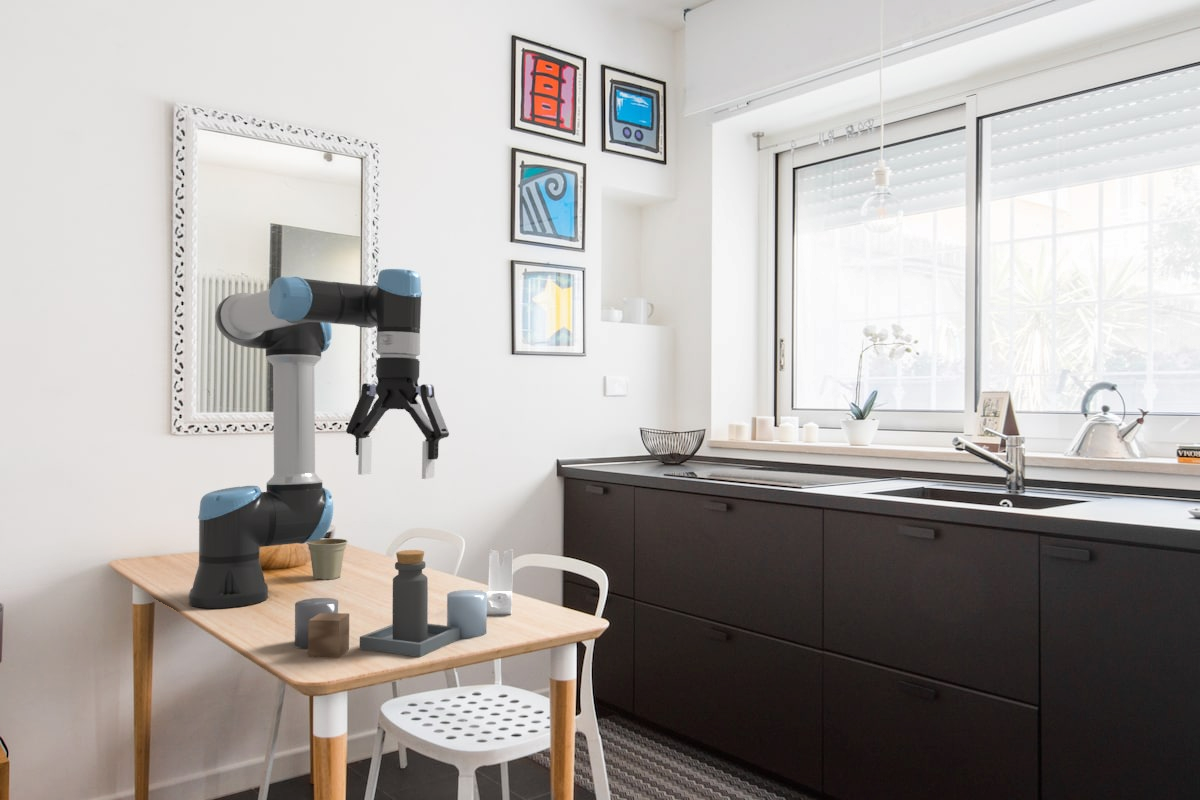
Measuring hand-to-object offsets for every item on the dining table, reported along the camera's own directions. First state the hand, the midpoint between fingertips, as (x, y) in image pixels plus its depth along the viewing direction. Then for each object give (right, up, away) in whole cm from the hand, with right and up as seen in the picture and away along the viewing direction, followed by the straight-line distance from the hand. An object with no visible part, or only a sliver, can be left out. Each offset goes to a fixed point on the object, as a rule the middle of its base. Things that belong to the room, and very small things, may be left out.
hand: (395, 476), depth 153 cm
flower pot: (-28, -29, +51) cm, 65 cm away
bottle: (+4, -28, -7) cm, 29 cm away
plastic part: (+15, -29, +18) cm, 37 cm away
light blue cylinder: (+13, -28, +1) cm, 31 cm away
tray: (+4, -28, -7) cm, 29 cm away
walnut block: (-8, -28, -13) cm, 32 cm away
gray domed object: (-12, -28, -7) cm, 31 cm away
